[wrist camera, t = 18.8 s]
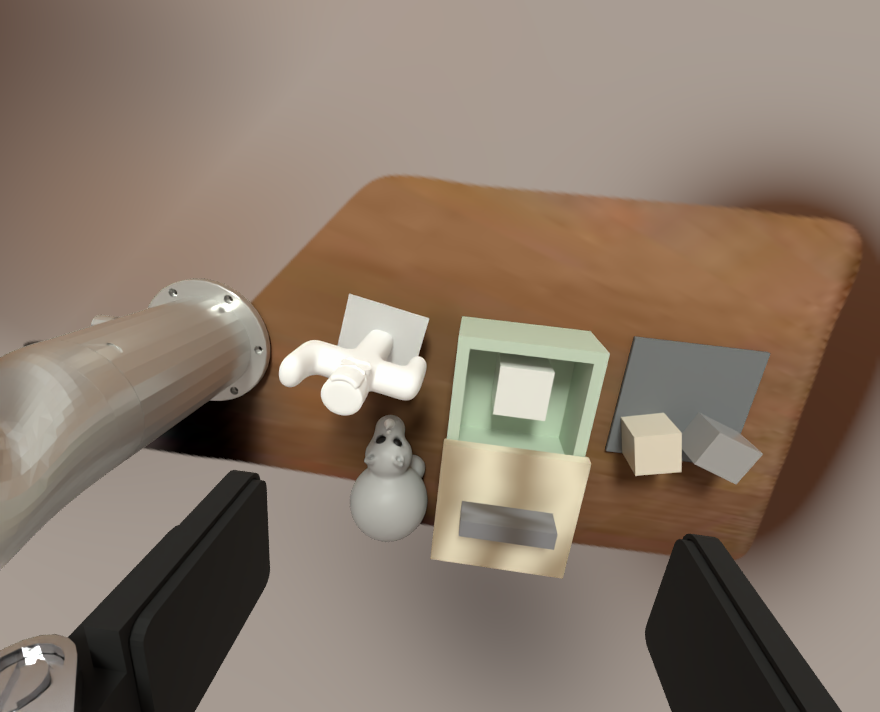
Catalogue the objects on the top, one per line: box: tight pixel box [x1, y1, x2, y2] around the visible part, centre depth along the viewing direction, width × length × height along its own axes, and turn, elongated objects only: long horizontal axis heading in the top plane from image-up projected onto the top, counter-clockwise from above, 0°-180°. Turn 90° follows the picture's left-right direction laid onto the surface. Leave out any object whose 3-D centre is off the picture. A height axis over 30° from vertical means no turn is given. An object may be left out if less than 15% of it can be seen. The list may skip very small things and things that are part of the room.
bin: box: [447, 316, 610, 457], centre depth 41 cm, size 12×20×6 cm, turn 174°
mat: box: [605, 336, 770, 462], centre depth 42 cm, size 12×12×1 cm
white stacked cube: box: [492, 352, 555, 421], centre depth 39 cm, size 4×4×5 cm
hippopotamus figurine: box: [350, 415, 427, 542], centre depth 43 cm, size 8×12×9 cm, turn 176°
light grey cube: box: [682, 412, 763, 484], centre depth 41 cm, size 4×4×4 cm
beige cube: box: [621, 413, 682, 476], centre depth 41 cm, size 4×4×4 cm
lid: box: [430, 439, 591, 578], centre depth 38 cm, size 12×12×4 cm
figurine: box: [279, 294, 429, 415], centre depth 35 cm, size 7×9×15 cm
